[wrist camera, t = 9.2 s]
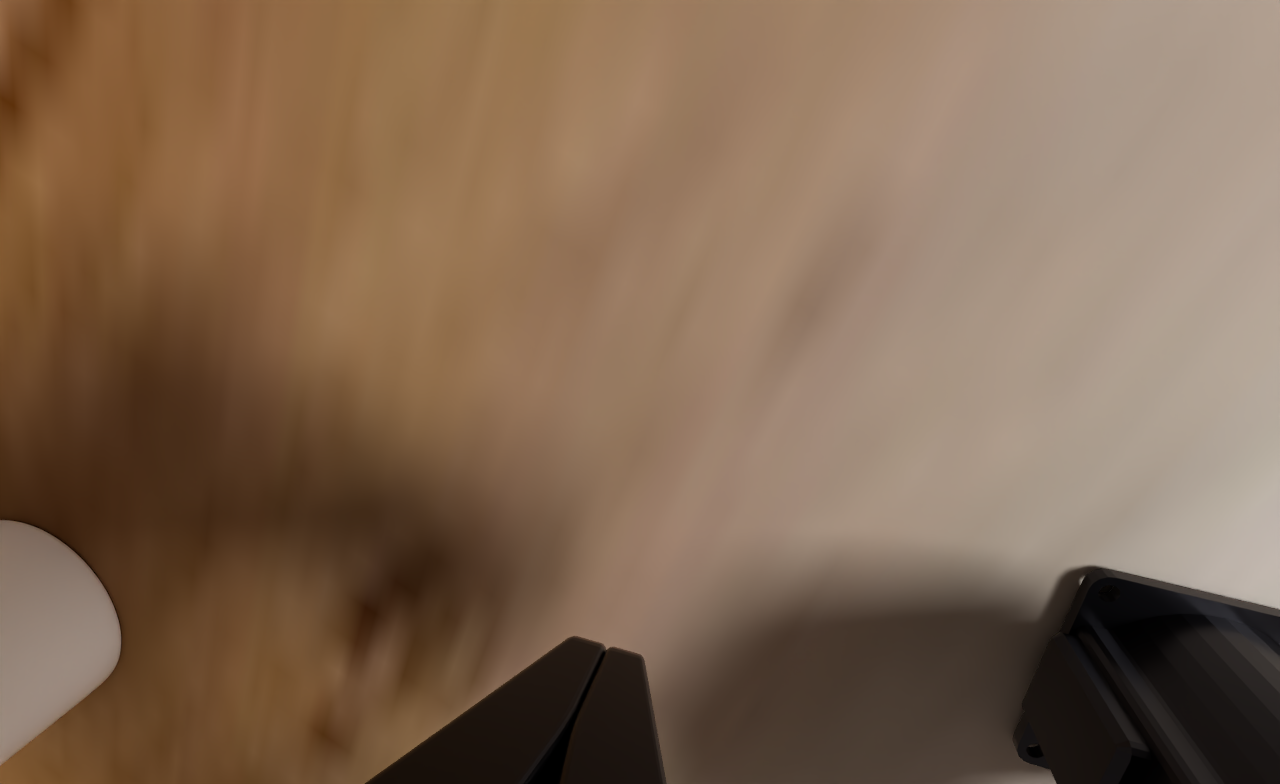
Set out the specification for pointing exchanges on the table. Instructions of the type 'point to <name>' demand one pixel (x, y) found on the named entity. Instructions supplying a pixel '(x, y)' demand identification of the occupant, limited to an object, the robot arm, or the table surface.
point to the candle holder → (48, 633)
